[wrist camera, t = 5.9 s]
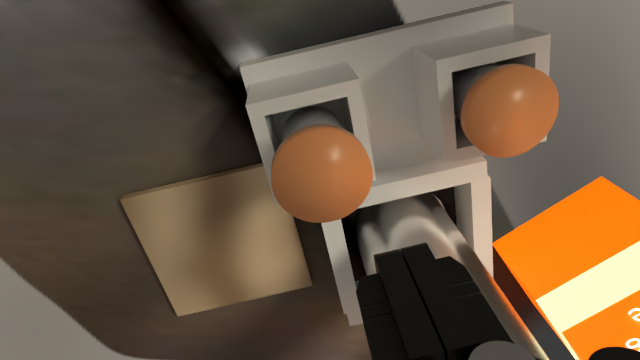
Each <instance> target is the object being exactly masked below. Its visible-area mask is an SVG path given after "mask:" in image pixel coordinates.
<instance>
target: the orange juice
mask: <svg viewBox="0 0 640 360" xmlns="http://www.w3.org/2000/svg"><path fill="white" fill-rule="evenodd" d="M492 245H493V246H494V247H495V249H496V250H497V252H498V253H499V255H500V256H501V258H502V259H503V261H504V262H505V264H506V265H507V266H508V268H509V269H510V271H511V272H512V274H513V275H514V277H515V278H516V280H517V281H518V283H519V284H520V285H521V287H522V288H523V290H524V291H525V293H526V294H527V296H528V297H529V299H530V300H531V302H532V303H533V304H534V305H535V307H536V308H537V309H538V311H539V312H540V313H541V315H542V316H543V317H544V319H545V320H546V321H547V322H548V324H549V325H550V326H551V328H552V329H553V330H554V332H555V333H556V334H557V336H558V337H559V338H560V339H561V341H562V342H563V343H564V345H565V346H566V347H567V349H568V350H569V351H570V352H571V354H572V355H573V357H574V358H575V360H588V359H589V357H590V356H591V354H593V353H594V352H595V351H597V350H599V349H601V348H605V347H626V348H630V349H634V350H637V351H639V352H640V201H639V200H637V199H636V198H634V197H633V196H631V195H629V194H628V193H627V192H625V191H623V190H622V189H620V188H619V187H617V186H616V185H614V184H612V183H611V182H609V181H608V180H606V179H605V178H603V177H599V178H598V179H596V180H595V181H593V182H591V183H590V184H588V185H586V186H585V187H583V188H581V189H580V190H578V191H577V192H575V193H573V194H572V195H570V196H569V197H567V198H565V199H564V200H562V201H561V202H559V203H557V204H555V205H554V206H552V207H550V208H549V209H547V210H546V211H544V212H542V213H541V214H539V215H538V216H536V217H534V218H533V219H531V220H529V221H528V222H526V223H525V224H523V225H521V226H520V227H518V228H516V229H515V230H513V231H511V232H510V233H508V234H507V235H505V236H503V237H502V238H500V239H498V240H497V241H495V242H493V243H492Z"/></svg>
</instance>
